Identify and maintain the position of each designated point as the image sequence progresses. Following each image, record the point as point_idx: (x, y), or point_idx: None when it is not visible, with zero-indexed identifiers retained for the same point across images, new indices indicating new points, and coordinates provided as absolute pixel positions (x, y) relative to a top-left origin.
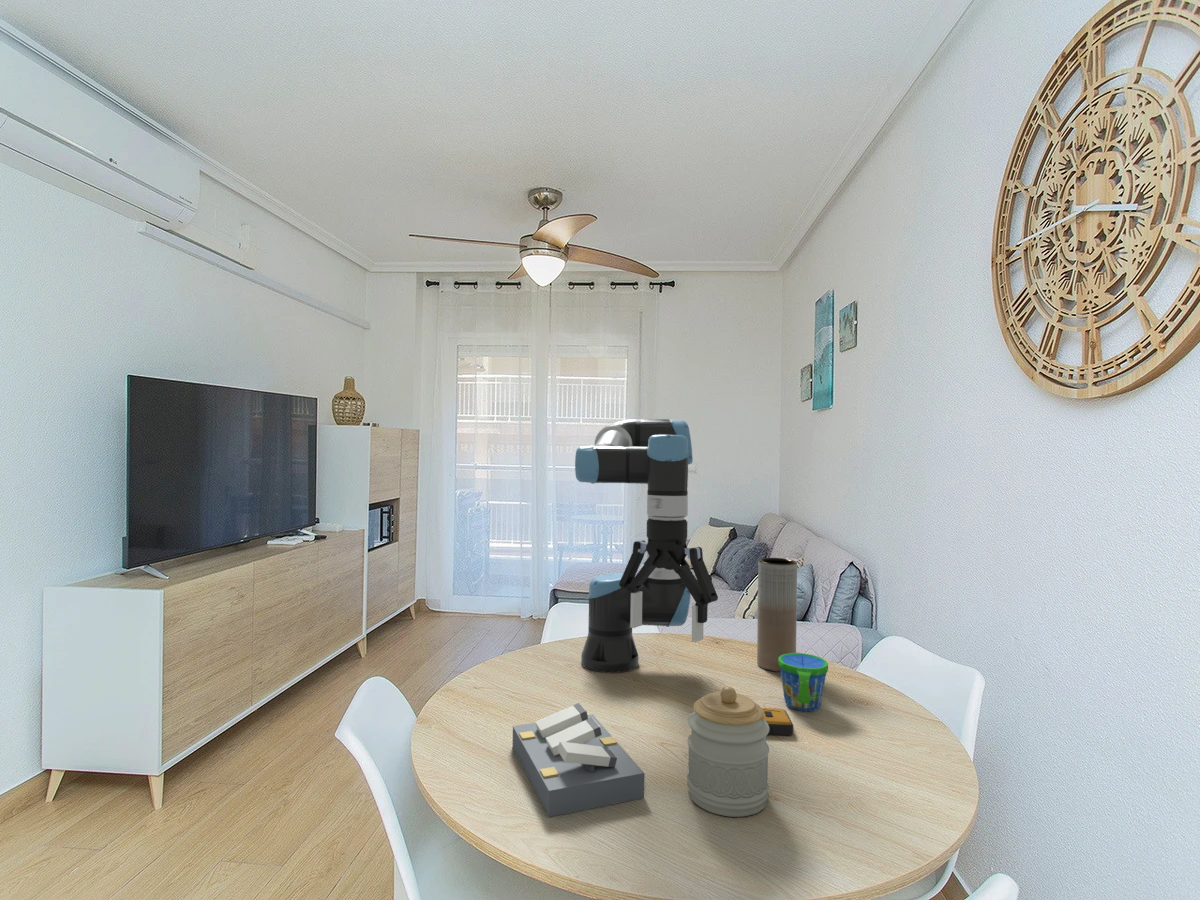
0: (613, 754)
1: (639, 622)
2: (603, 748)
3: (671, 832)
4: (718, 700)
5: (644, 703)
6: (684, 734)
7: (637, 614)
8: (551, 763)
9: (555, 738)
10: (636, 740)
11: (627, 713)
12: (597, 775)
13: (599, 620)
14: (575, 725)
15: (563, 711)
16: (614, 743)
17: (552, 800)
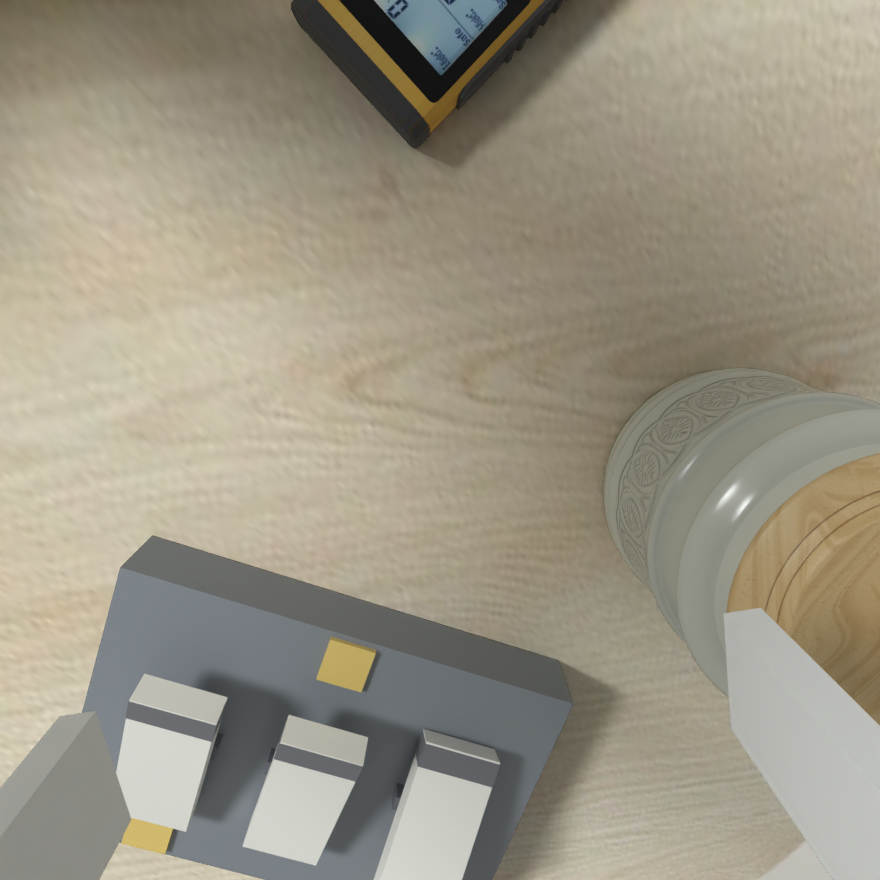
0: (476, 761)
1: (89, 769)
2: (432, 770)
3: (705, 707)
4: (874, 654)
5: (9, 160)
6: (352, 263)
7: (55, 870)
8: (352, 860)
9: (278, 840)
10: (279, 443)
11: (62, 303)
12: (491, 805)
13: None
14: (269, 785)
15: (135, 751)
16: (372, 659)
17: None
